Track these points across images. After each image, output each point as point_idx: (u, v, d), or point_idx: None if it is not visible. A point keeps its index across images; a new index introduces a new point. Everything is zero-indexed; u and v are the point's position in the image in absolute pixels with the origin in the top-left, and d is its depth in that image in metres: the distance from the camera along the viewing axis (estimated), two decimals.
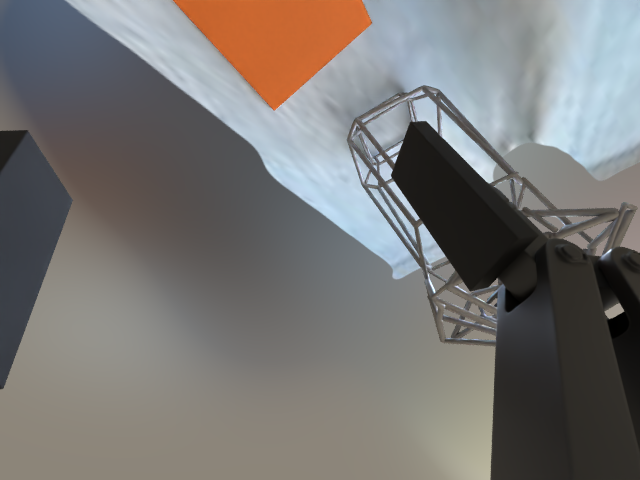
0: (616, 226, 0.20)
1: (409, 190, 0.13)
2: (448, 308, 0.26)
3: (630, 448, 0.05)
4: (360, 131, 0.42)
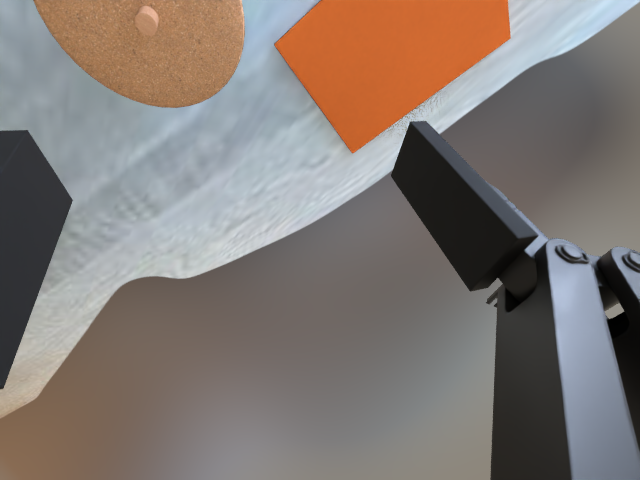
0: None
1: (409, 190, 0.13)
2: None
3: (630, 448, 0.05)
4: None
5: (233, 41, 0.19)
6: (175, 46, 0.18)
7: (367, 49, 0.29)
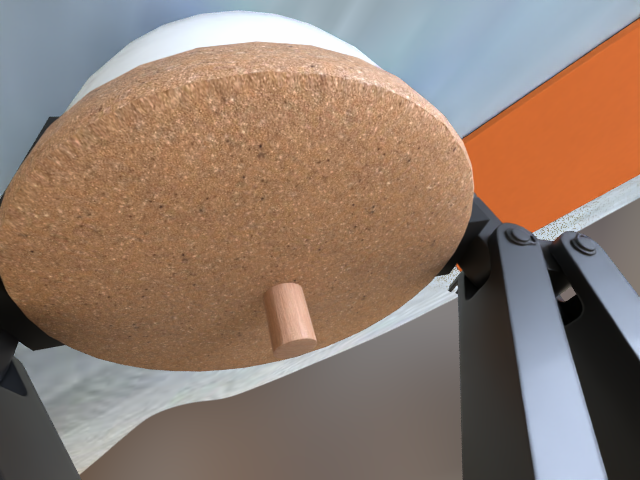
0: None
1: None
2: None
3: (584, 426, 0.05)
4: None
5: (422, 282, 0.10)
6: (318, 312, 0.09)
7: (529, 170, 0.19)
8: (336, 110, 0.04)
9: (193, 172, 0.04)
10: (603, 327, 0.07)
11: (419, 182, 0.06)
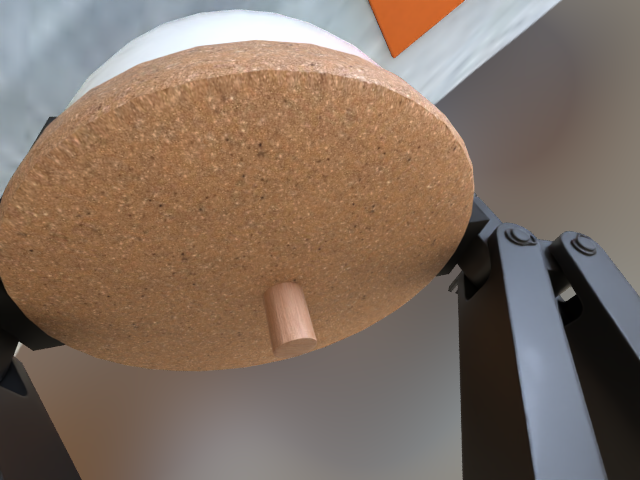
0: None
1: None
2: None
3: (584, 426, 0.05)
4: None
5: (422, 281, 0.10)
6: (318, 311, 0.09)
7: None
8: (336, 109, 0.04)
9: (193, 171, 0.04)
10: (603, 328, 0.07)
11: (419, 181, 0.06)
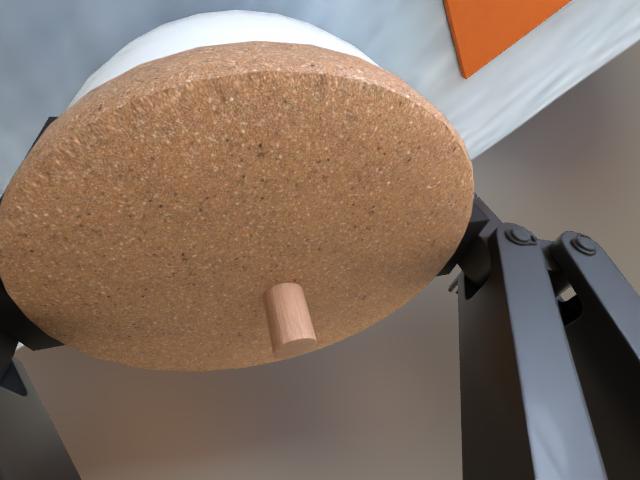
0: None
1: None
2: None
3: (584, 426, 0.05)
4: None
5: (422, 281, 0.10)
6: (318, 312, 0.09)
7: None
8: (336, 109, 0.04)
9: (193, 173, 0.04)
10: (603, 327, 0.07)
11: (419, 182, 0.06)
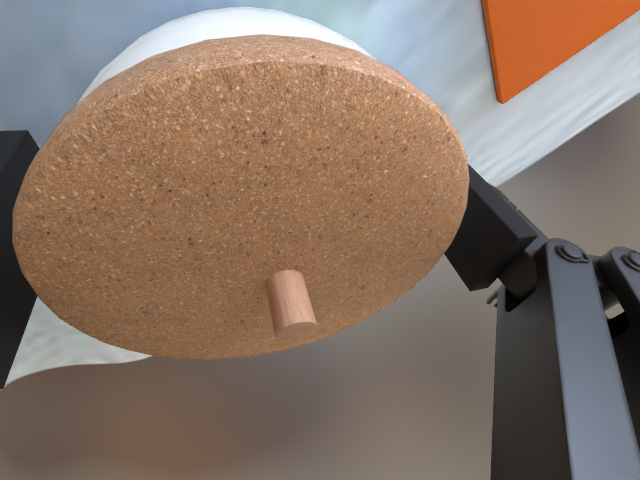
0: None
1: None
2: None
3: (630, 448, 0.05)
4: None
5: (420, 272, 0.10)
6: (319, 300, 0.09)
7: None
8: (335, 99, 0.05)
9: (200, 157, 0.05)
10: None
11: (415, 171, 0.06)
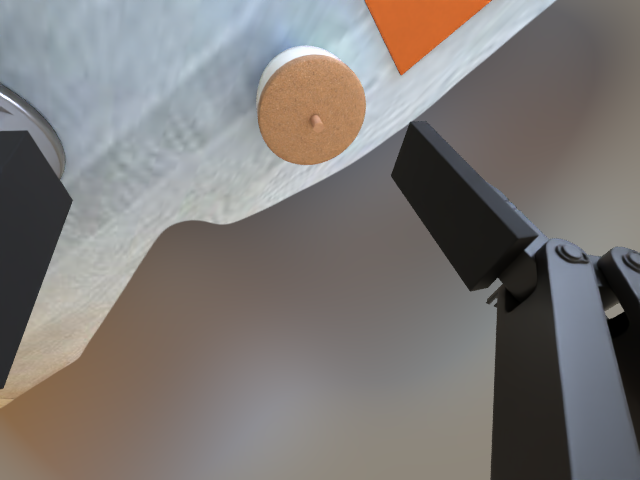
0: None
1: (409, 190, 0.13)
2: None
3: (630, 448, 0.05)
4: None
5: (357, 126, 0.31)
6: (324, 132, 0.30)
7: None
8: (326, 65, 0.26)
9: (301, 77, 0.26)
10: None
11: (346, 83, 0.27)
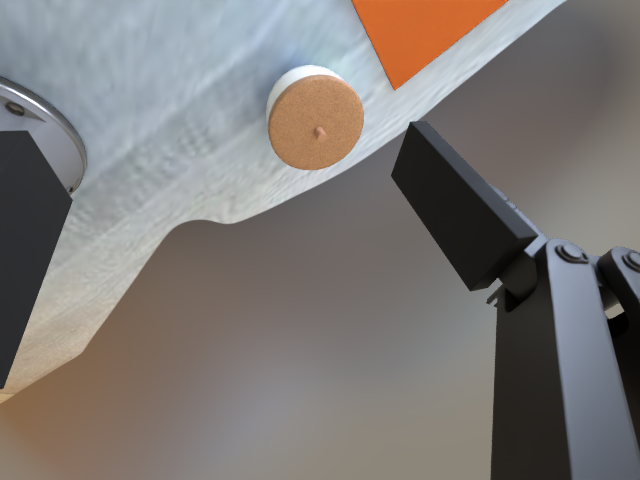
0: None
1: (409, 190, 0.13)
2: None
3: (630, 448, 0.05)
4: None
5: (355, 136, 0.35)
6: (326, 142, 0.34)
7: None
8: (330, 84, 0.29)
9: (308, 94, 0.29)
10: None
11: (347, 100, 0.31)
